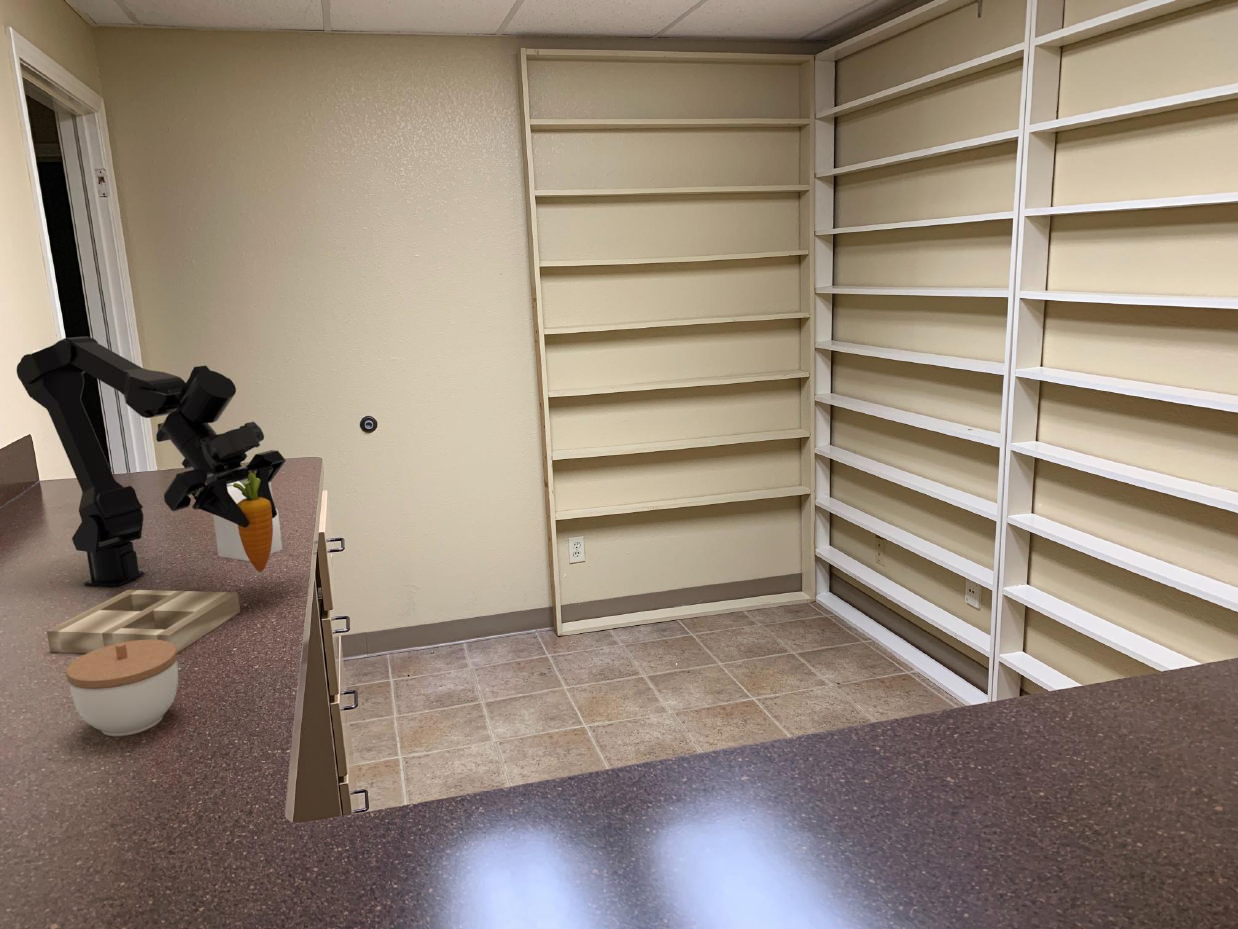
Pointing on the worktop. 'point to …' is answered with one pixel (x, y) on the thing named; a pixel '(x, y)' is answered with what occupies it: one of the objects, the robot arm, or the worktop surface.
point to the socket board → (145, 619)
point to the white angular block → (229, 532)
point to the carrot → (256, 523)
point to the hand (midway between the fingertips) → (261, 520)
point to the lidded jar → (125, 685)
